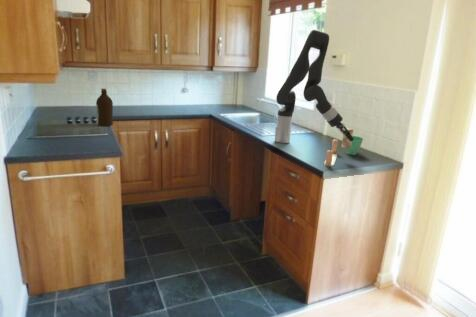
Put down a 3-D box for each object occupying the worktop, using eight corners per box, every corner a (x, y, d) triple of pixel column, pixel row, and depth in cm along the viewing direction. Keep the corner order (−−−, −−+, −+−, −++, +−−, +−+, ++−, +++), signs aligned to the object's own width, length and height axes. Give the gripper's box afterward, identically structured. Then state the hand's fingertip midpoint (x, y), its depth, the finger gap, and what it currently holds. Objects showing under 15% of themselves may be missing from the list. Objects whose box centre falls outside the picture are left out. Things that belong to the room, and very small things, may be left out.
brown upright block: (341, 147, 198) (343, 129, 195) (341, 145, 202) (344, 128, 199) (350, 148, 196) (353, 130, 193) (351, 146, 200) (353, 129, 198)
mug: (360, 157, 210) (363, 140, 207) (343, 154, 213) (345, 138, 210) (360, 151, 224) (362, 135, 221) (343, 149, 226) (346, 133, 224)
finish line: (322, 165, 189) (324, 151, 187) (329, 152, 217) (331, 139, 215) (332, 167, 188) (334, 152, 185) (338, 153, 216) (340, 140, 213)
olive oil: (114, 123, 258) (113, 88, 251) (112, 126, 248) (111, 89, 241) (98, 123, 256) (96, 87, 249) (96, 126, 246) (94, 89, 239)
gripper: (341, 113, 187) (360, 137, 190) (334, 109, 200) (352, 132, 204) (329, 123, 188) (349, 146, 192) (323, 118, 202) (341, 140, 205)
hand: (350, 139), depth 198 cm, fingers closed on brown upright block, 5 cm apart
